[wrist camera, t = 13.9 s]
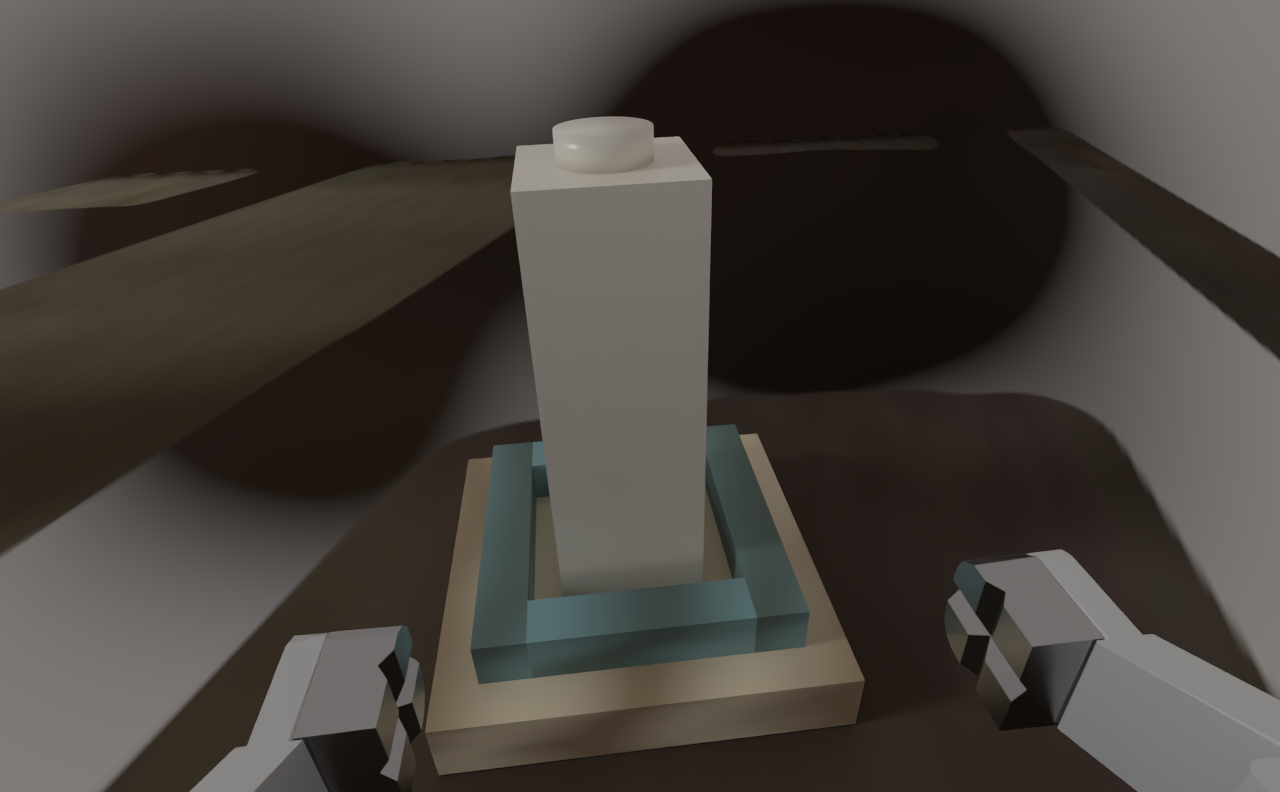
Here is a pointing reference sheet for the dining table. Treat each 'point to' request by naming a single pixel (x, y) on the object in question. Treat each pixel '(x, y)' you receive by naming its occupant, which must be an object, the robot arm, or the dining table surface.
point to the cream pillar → (618, 346)
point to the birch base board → (631, 628)
